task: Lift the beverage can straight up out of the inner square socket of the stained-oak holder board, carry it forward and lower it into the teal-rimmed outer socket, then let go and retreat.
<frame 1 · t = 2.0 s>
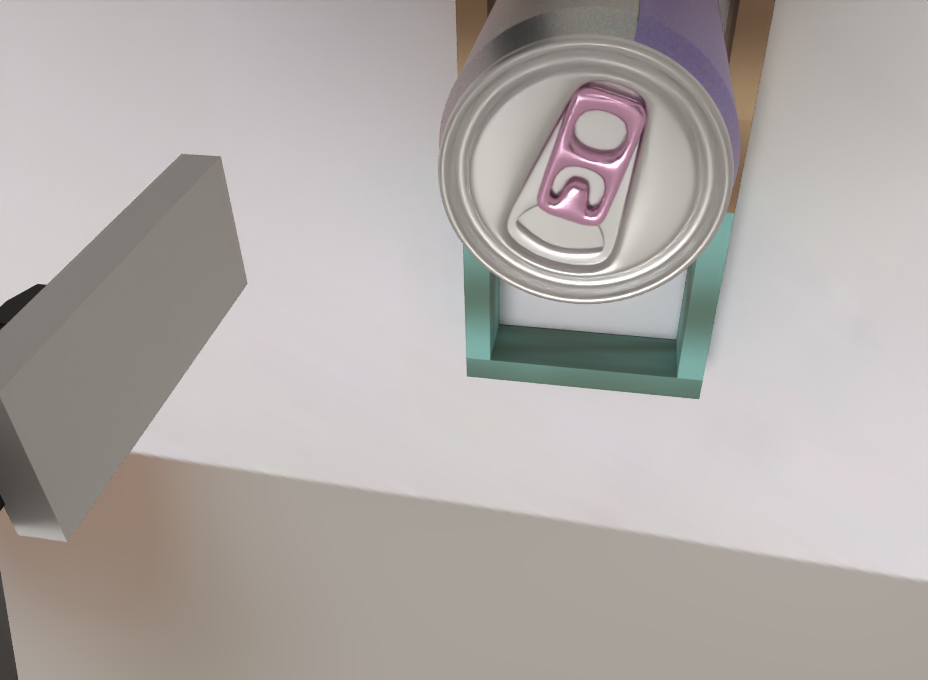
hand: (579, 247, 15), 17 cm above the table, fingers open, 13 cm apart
holder board: (602, 129, 31), on the table
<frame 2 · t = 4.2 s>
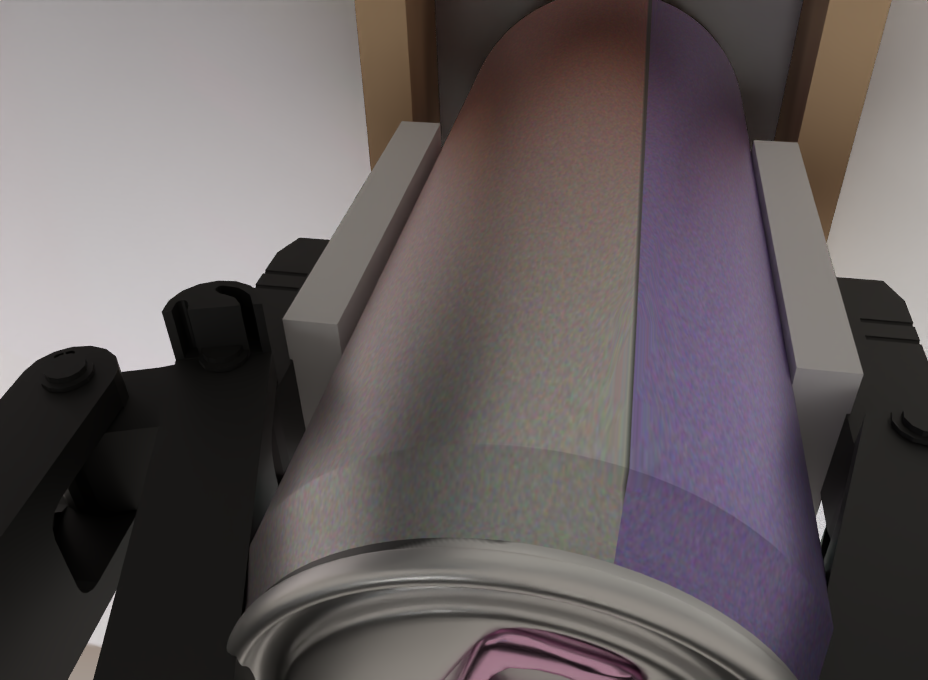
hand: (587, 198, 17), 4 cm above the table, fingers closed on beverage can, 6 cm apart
beverage can: (603, 114, 20), resting in holder board, touching gripper
holder board: (587, 315, 23), on the table
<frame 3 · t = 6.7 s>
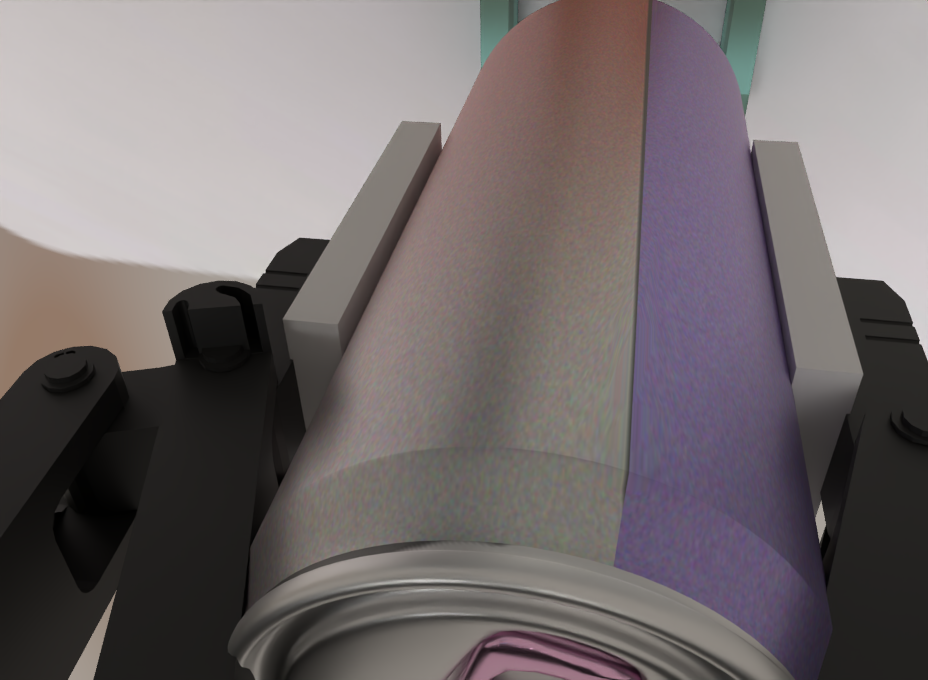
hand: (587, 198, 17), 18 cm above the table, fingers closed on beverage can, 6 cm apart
beverage can: (604, 116, 20), point 14 cm above the table, touching gripper
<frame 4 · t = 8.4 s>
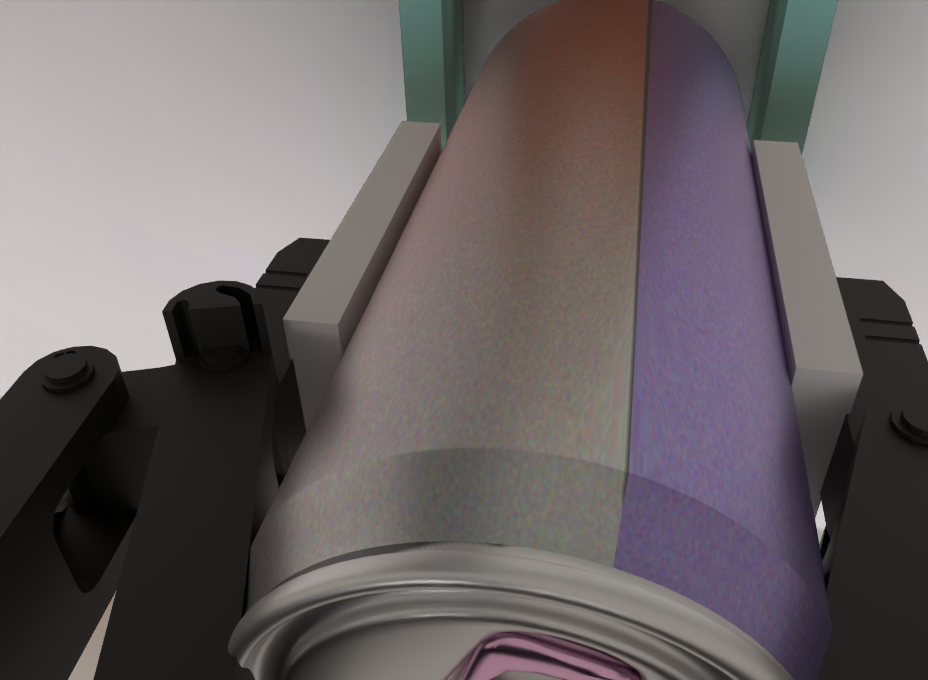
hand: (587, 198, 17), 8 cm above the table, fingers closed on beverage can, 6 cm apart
beverage can: (604, 116, 20), point 3 cm above the table, touching gripper
when the fingers open (5 cm above the table, at t = 9.6 s): beverage can drops 1 cm, resting in holder board.
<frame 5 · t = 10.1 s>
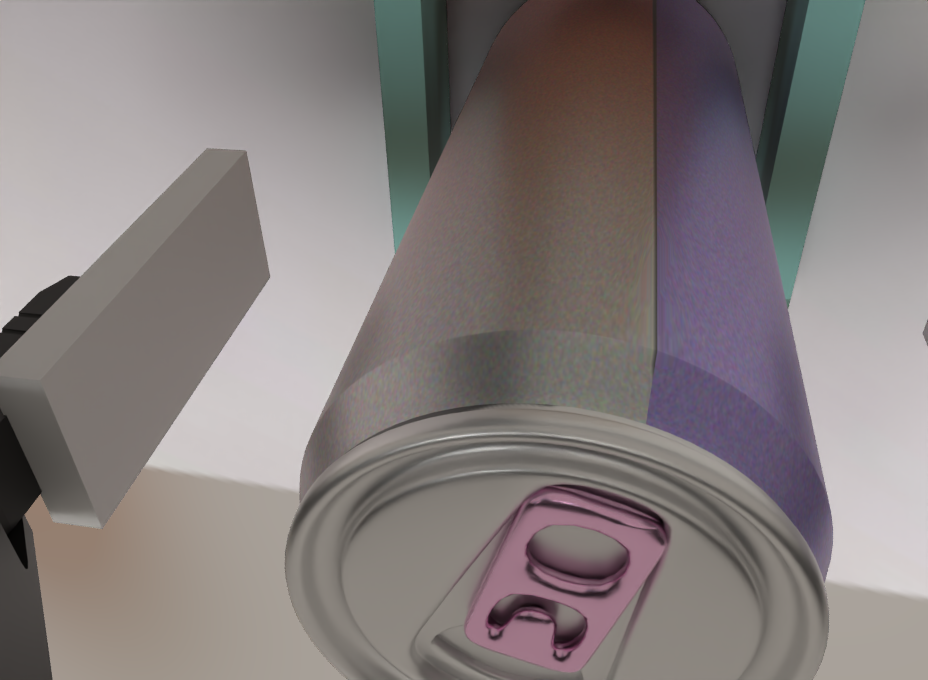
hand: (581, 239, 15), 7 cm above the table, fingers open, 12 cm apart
beverage can: (606, 91, 21), resting in holder board
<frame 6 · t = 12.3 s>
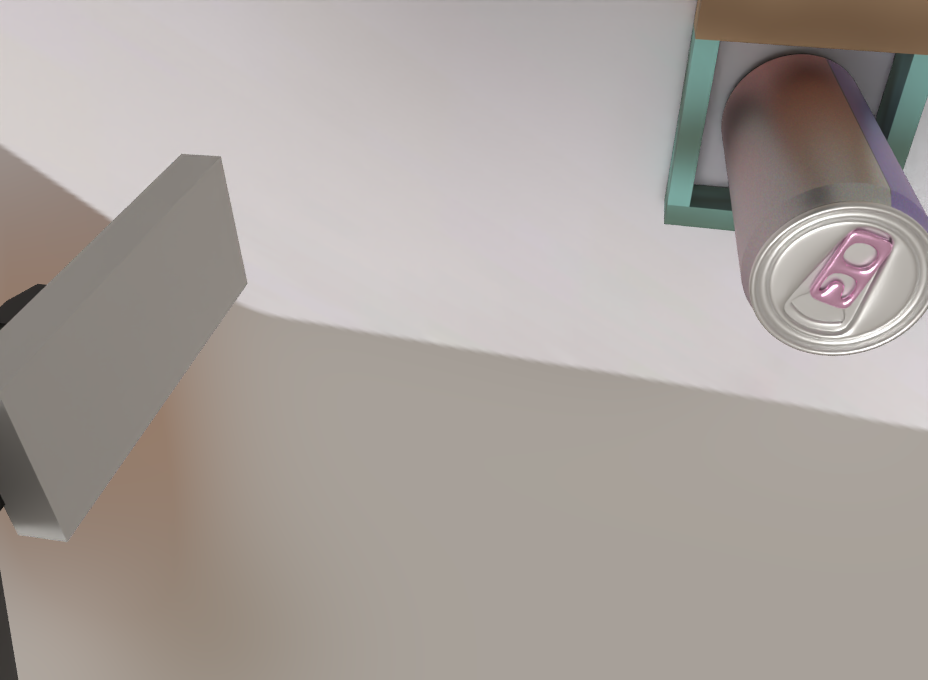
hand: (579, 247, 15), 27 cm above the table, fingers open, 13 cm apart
beverage can: (788, 113, 39), resting in holder board
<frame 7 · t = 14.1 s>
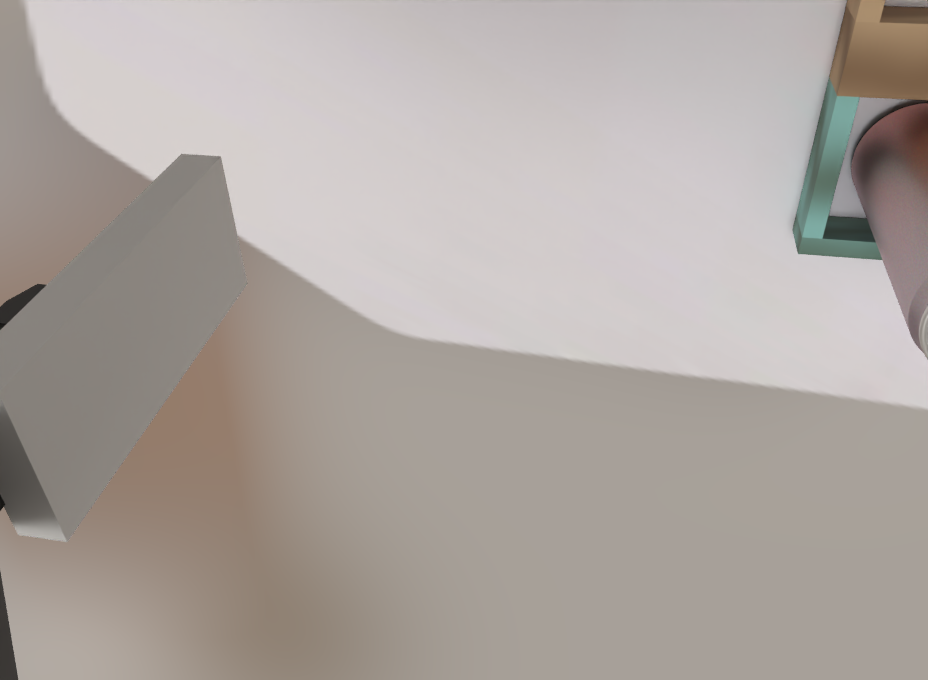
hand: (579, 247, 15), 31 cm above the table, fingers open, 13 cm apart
beverage can: (911, 152, 44), resting in holder board
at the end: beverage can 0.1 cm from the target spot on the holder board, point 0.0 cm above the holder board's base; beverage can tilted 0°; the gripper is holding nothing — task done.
